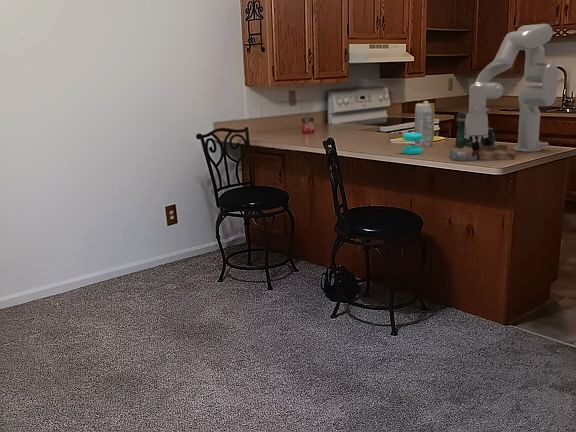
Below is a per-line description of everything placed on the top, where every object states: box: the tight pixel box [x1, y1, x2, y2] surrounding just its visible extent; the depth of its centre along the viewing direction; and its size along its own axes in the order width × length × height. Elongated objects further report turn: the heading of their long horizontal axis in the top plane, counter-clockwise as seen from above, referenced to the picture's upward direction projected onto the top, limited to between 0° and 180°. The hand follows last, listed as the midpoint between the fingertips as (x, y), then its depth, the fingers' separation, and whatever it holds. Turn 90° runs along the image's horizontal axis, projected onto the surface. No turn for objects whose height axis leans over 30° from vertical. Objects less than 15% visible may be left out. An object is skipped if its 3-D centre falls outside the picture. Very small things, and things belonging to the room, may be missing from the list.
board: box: [472, 144, 516, 161], centre depth 275 cm, size 16×12×5 cm
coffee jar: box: [455, 110, 472, 148], centre depth 310 cm, size 10×8×19 cm
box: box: [449, 148, 478, 162], centre depth 276 cm, size 10×12×4 cm
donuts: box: [401, 132, 423, 156], centre depth 296 cm, size 10×10×10 cm
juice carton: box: [414, 100, 435, 147], centre depth 319 cm, size 9×8×24 cm
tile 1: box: [456, 151, 466, 157], centre depth 276 cm, size 5×5×2 cm
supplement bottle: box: [479, 127, 496, 146], centre depth 290 cm, size 7×7×12 cm
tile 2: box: [463, 146, 473, 156], centre depth 276 cm, size 5×5×2 cm
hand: (475, 150), depth 275 cm, fingers closed
